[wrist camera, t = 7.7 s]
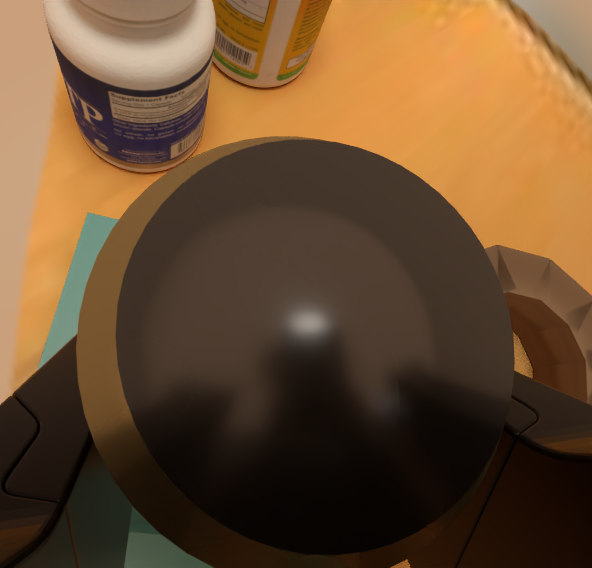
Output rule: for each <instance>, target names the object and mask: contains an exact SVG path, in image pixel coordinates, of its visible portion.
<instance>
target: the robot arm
mask: <svg viewBox="0 0 592 568" xmlns="http://www.w3.org/2000/svg"><path fill="white" fill-rule="evenodd" d="M76 343H77V334H76V335H75V336H74V337H73V338H72V339H71V340H70V341H69V342H67V343H66V344H65V345H64V346H63V347H62V348H61V349H60V350H59V351H58V352H57V353H56V354H55V355H53V356H52V357H51V358H50V359H49V360H48V361H47V362H46V363H45V364H44V365H43V366H42V367H41V368H40V369H38V370H37V371H36V372H35V373H34V374H33V375H32V376H31V377H30V378H29V379H28V380H27V381H26V382H25V383H23V384H22V385H21V386H20V387H19V388H18V389H17V390H16V391H15V392H14V393H13V395H12V396H10V397H8V398H7V399H6V400H5V401H4V402H3V403H2V404H1V405H0V568H124V564H125V557H126V549H127V542H128V535H129V528H130V520H131V513H132V504H131V503H130V502H129V500H128V499H127V498H126V496H125V495H124V493H123V492H122V491H121V489H120V488H119V487H118V485H117V484H116V483H115V481H114V480H113V478H112V476H111V475H110V473H109V471H108V469H107V467H106V465H105V463H104V461H103V459H102V458H101V456H100V454H99V452H98V450H97V448H96V445H95V443H94V440H93V437H92V434H91V431H90V429H89V426H88V423H87V420H86V417H85V414H84V409H83V404H82V399H81V394H80V389H79V384H78V374H77V355H76ZM407 560H408V562H409V564H410V567H411V568H592V405H591V404H589V403H587V402H584V401H582V400H580V399H577V398H575V397H573V396H570V395H568V394H566V393H563V392H561V391H559V390H556V389H554V388H552V387H550V386H547V385H545V384H543V383H540V382H538V381H536V380H534V379H531V378H529V377H527V376H525V375H522V374H520V373H518V372H516V371H514V378H513V389H512V395H511V400H510V406H509V411H508V414H507V417H506V421H505V424H504V427H503V430H502V434H501V437H500V440H499V443H498V446H497V450H496V453H495V455H494V457H493V459H492V462H491V464H490V466H489V468H488V470H487V473H486V475H485V477H484V479H483V481H482V482H481V484H480V485H479V487H478V489H477V490H476V492H475V493H474V495H473V497H472V498H471V500H470V501H469V503H468V504H467V505H466V506H465V508H464V509H463V510H462V511H461V512H460V514H459V515H458V516H457V517H456V518H455V520H454V521H453V522H452V523H451V524H450V525H449V526H448V527H447V528H446V529H445V530H444V531H443V532H442V533H440V534H439V535H438V536H437V537H436V538H435V539H434V540H433V541H432V542H431V543H429V544H428V545H427V546H425V547H424V548H422V549H421V550H419V551H418V552H416V553H415V554H413V555H412V556H410V557H409V558H407Z"/></svg>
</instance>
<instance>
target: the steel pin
mask: <svg viewBox="0 0 592 568" xmlns="http://www.w3.org/2000/svg"><path fill="white" fill-rule="evenodd" d="M76 355H77V374H78V384H79V389H80V394H81V399H82V404H83V409H84V414H85V417H86V420H87V423H88V426H89V429H90V431H91V434H92V437H93V440H94V443H95V445H96V448H97V450H98V452H99V454H100V456H101V458H102V459H103V461H104V463H105V465H106V467H107V469H108V471H109V473H110V475H111V476H112V478H113V480H114V481H115V483H116V484H117V485H118V487H119V488H120V489H121V491H122V492H123V493H124V495H125V496H126V498H127V499H128V500H129V502H130V503H131V504H132V506H133V507H134V508H135V509H136V510H137V511H138V512H139V513H140V514H141V515H142V516H143V517H144V518H145V519H146V520H147V521H148V522H149V523H150V524H151V525H152V526H153V527H154V528H155V529H156V530H157V531H158V532H159V533H160V534H161V535H163V536H164V537H165V538H167V539H168V540H169V541H171V542H172V543H174V544H175V545H176V546H178V547H179V548H180V549H182V550H183V551H184V552H186V553H187V554H189V555H191V556H193V557H195V558H197V559H198V560H200V561H202V562H204V563H206V564H208V565H210V566H212V567H214V568H390V567H392V566H394V565H396V564H398V563H400V562H402V561H404V560H406V559H407V558H409V557H410V556H412V555H413V554H415V553H416V552H418V551H419V550H421V549H422V548H424V547H425V546H427V545H428V544H429V543H431V542H432V541H433V540H434V539H435V538H436V537H437V536H438V535H439V534H440V533H442V532H443V531H444V530H445V529H446V528H447V527H448V526H449V525H450V524H451V523H452V522H453V521H454V520H455V518H456V517H457V516H458V515H459V514H460V512H461V511H462V510H463V509H464V508H465V506H466V505H467V504H468V503H469V501H470V500H471V498H472V497H473V495H474V493H475V492H476V490H477V489H478V487H479V485H480V484H481V482H482V481H483V479H484V477H485V475H486V473H487V470H488V468H489V466H490V464H491V462H492V459H493V457H494V455H495V453H496V450H497V446H498V443H499V440H500V437H501V434H502V430H503V427H504V424H505V421H506V417H507V414H508V411H509V406H510V400H511V395H512V389H513V378H514V362H515V361H514V342H513V332H512V326H511V320H510V314H509V310H508V307H507V303H506V299H505V296H504V292H503V289H502V286H501V284H500V281H499V279H498V276H497V274H496V271H495V269H494V267H493V265H492V263H491V261H490V259H489V257H488V255H487V253H486V251H485V249H484V247H483V246H482V244H481V243H480V241H479V240H478V238H477V237H476V235H475V234H474V232H473V231H472V229H471V228H470V226H469V225H468V224H467V223H466V221H465V220H464V219H463V218H462V217H461V215H460V214H459V213H458V212H457V210H456V209H455V208H454V207H453V206H452V205H451V204H450V203H449V202H448V201H447V200H446V199H445V198H444V197H443V196H442V195H441V194H440V193H439V192H437V191H436V190H435V189H434V188H432V187H431V186H430V185H429V184H427V183H426V182H425V181H424V180H422V179H421V178H420V177H418V176H416V175H415V174H413V173H412V172H410V171H409V170H407V169H405V168H404V167H402V166H401V165H399V164H397V163H395V162H393V161H391V160H389V159H387V158H384V157H382V156H380V155H378V154H375V153H372V152H369V151H367V150H364V149H361V148H358V147H354V146H350V145H346V144H342V143H337V142H330V141H325V140H320V139H312V138H303V137H264V138H256V139H247V140H243V141H239V142H235V143H231V144H227V145H223V146H219V147H217V148H214V149H212V150H209V151H207V152H204V153H202V154H199V155H197V156H195V157H193V158H191V159H189V160H188V161H186V162H184V163H182V164H180V165H179V166H177V167H175V168H173V169H172V170H170V171H169V172H168V173H166V174H165V175H164V176H162V177H161V178H160V179H158V180H157V181H156V182H154V183H153V184H152V185H150V186H149V187H148V188H147V189H146V190H145V191H144V192H143V193H142V194H141V195H140V196H139V197H138V198H137V199H136V200H135V201H134V202H133V203H132V204H131V205H130V206H129V208H128V209H127V210H126V211H125V213H124V214H123V215H122V217H121V218H120V219H119V221H118V222H117V223H116V225H115V226H114V227H113V228H112V230H111V232H110V234H109V236H108V237H107V239H106V241H105V243H104V244H103V246H102V248H101V250H100V251H99V253H98V255H97V258H96V260H95V263H94V265H93V268H92V270H91V273H90V276H89V278H88V281H87V283H86V287H85V292H84V296H83V300H82V304H81V308H80V313H79V321H78V332H77V343H76Z"/></svg>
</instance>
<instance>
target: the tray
mask: <svg viewBox="0 0 592 568" xmlns="http://www.w3.org/2000/svg"><path fill="white" fill-rule="evenodd" d="M118 221H119V220H117V219H113V218H109V217H105V216H100V215H96V214H92V213H87V216H86V219H85V223H84V226H83V229H82V232H81V235H80V238H79V241H78V244H77V248H76V251H75V254H74V257H73V260H72V263H71V266H70V269H69V273H68V276H67V279H66V282H65V285H64V288H63V291H62V294H61V298H60V301H59V304H58V307H57V310H56V313H55V316H54V319H53V323H52V326H51V329H50V332H49V335H48V338H47V341H46V344H45V348H44V351H43V354H42V357H41V360H40V363H39V366H38V369H40V368H41V367H42V366H43V365H44V364H45V363H46V362H47V361H48V360H49V359H50V358H51V357H52V356H53V355H55V354H56V353H57V352H58V351H59V350H60V349H61V348H62V347H63V346H64V345H65V344H66V343H67V342H69V341H70V340H71V339H72V338H73V337H74V336H75V335H76V334H77V332H78V321H79V313H80V308H81V304H82V300H83V296H84V292H85V287H86V283H87V281H88V278H89V276H90V273H91V270H92V268H93V265H94V263H95V260H96V258H97V255H98V253H99V251H100V250H101V248H102V246H103V244H104V243H105V241H106V239H107V237H108V236H109V234H110V232H111V230H112V228H113V227H114V226H115V225H116V223H117V222H118ZM38 369H37V370H38ZM124 568H214V567H212V566H210V565H208V564H206V563H204V562H202V561H200V560H198V559H197V558H195V557H193V556H191V555H189V554H187V553H186V552H184V551H183V550H182V549H180V548H179V547H178V546H176V545H175V544H174V543H172V542H171V541H169V540H168V539H167V538H165V537H164V536H163V535H161V534H160V533H159V532H158V531H157V530H156V529H155V528H154V527H153V526H152V525H151V524H150V523H149V522H148V521H147V520H146V519H145V518H144V517H143V516H142V515H141V514H140V513H139V512H138V511H137V510H136V509H135V508H134V507H133V506H132V513H131V520H130V528H129V535H128V542H127V549H126V557H125V564H124Z"/></svg>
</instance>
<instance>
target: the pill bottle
mask: <svg viewBox="0 0 592 568" xmlns="http://www.w3.org/2000/svg"><path fill="white" fill-rule="evenodd" d="M43 6H44V13H45V18H46V23H47V27H48V30H49V34H50V37H51V40H52V43H53V46H54V49H55V52H56V56H57V59H58V62H59V65H60V68H61V72H62V75H63V78H64V81H65V85H66V88H67V91H68V94H69V98H70V101H71V104H72V107H73V111H74V114H75V117H76V121H77V124H78V127H79V130H80V132H81V134H82V136H83V138H84V140H85V141H86V142H87V144H88V145H89V146H90V147H91V149H92V150H93V151H94V152H95V153H96V154H98V155H99V156H100V157H101V158H103V159H104V160H106V161H107V162H109V163H111V164H113V165H115V166H117V167H120V168H123V169H126V170H130V171H135V172H157V171H162V170H166V169H169V168H172V167H174V166H176V165H178V164H180V163H181V162H183V161H184V160H185V159H187V158H188V157H189V156H190V155H191V154H192V153H193V152H194V150H195V149H196V147H197V146H198V144H199V142H200V140H201V137H202V133H203V128H204V122H205V113H206V104H207V96H208V88H209V80H210V73H211V67H212V60H213V53H214V47H215V34H216V18H215V11H214V6H213V3H212V0H43Z"/></svg>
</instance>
